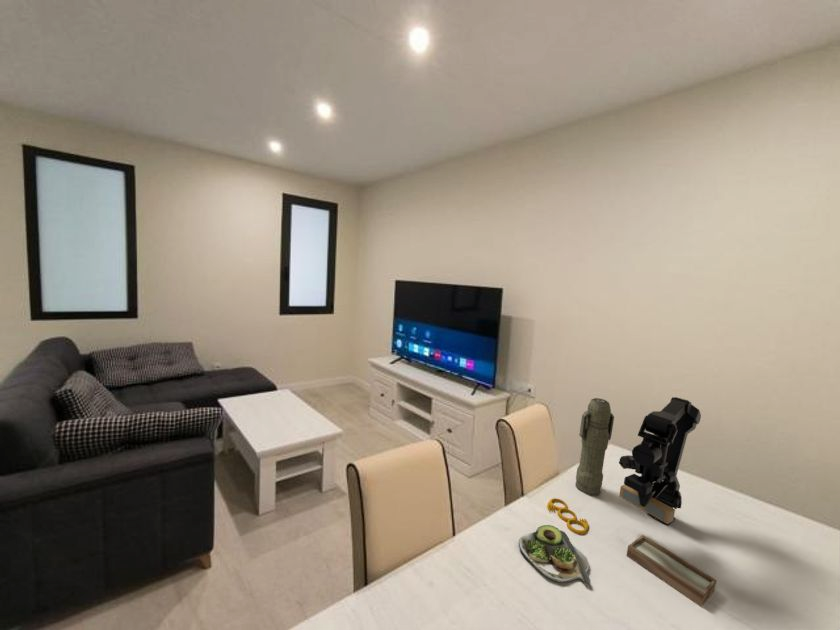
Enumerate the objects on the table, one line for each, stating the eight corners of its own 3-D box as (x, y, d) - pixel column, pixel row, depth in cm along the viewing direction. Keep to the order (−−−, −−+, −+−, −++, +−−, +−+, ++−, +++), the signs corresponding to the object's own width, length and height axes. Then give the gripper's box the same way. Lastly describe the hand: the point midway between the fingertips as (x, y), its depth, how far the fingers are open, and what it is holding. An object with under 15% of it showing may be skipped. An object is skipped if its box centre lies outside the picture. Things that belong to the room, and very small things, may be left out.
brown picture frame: (641, 544, 108) (643, 534, 107) (714, 590, 93) (716, 580, 93) (626, 555, 103) (628, 545, 102) (701, 606, 88) (703, 595, 88)
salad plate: (610, 579, 94) (612, 563, 94) (560, 600, 87) (563, 584, 86) (555, 529, 112) (557, 516, 111) (510, 544, 104) (511, 529, 104)
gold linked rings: (567, 536, 109) (596, 535, 111) (567, 532, 109) (597, 530, 111) (540, 502, 125) (566, 501, 127) (541, 498, 125) (567, 497, 127)
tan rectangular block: (624, 493, 116) (626, 483, 115) (673, 520, 104) (675, 509, 103) (618, 496, 114) (620, 486, 113) (667, 524, 102) (669, 513, 101)
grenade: (566, 482, 138) (578, 396, 134) (592, 480, 141) (605, 396, 137) (581, 496, 130) (595, 405, 125) (609, 494, 132) (622, 404, 128)
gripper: (642, 439, 118) (634, 482, 120) (610, 449, 109) (603, 497, 110) (680, 455, 109) (671, 502, 111) (649, 468, 99) (640, 519, 101)
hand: (645, 504), depth 108 cm, fingers closed on tan rectangular block, 4 cm apart
